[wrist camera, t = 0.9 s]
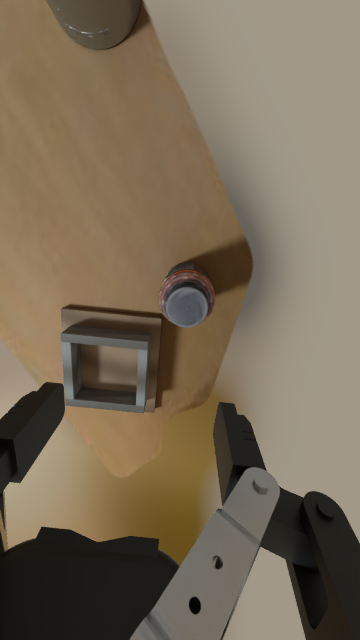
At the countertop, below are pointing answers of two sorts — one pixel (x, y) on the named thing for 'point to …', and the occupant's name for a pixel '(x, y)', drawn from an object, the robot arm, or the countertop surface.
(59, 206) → the countertop surface
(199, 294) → the supplement bottle
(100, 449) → the countertop surface
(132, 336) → the socket board
